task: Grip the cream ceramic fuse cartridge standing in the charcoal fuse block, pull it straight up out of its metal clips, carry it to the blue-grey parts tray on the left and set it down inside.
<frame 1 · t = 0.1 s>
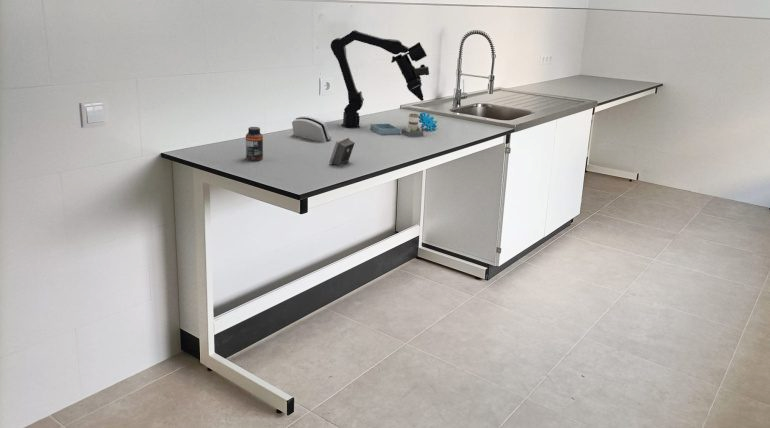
hand: (422, 98, 292), 15 cm above the table, tool tilted 30°, fingers open, 9 cm apart
fuse block: (412, 134, 290), on the table
tray: (384, 132, 292), on the table
gear: (427, 130, 304), on the table
white half-oval case: (310, 139, 271), on the table
supplement bottle: (254, 159, 235), on the table
fuse: (412, 130, 290), point 2 cm above the table, touching fuse block
electrical switch: (341, 163, 238), on the table
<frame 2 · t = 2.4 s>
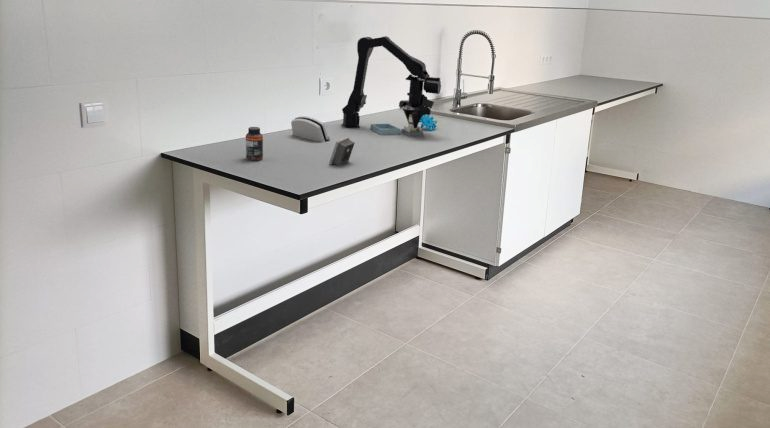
hand: (412, 127, 289), 4 cm above the table, tool pointing down, fingers closed on fuse, 4 cm apart
fuse: (412, 130, 290), point 2 cm above the table, touching fuse block, gripper
everything else where it was.
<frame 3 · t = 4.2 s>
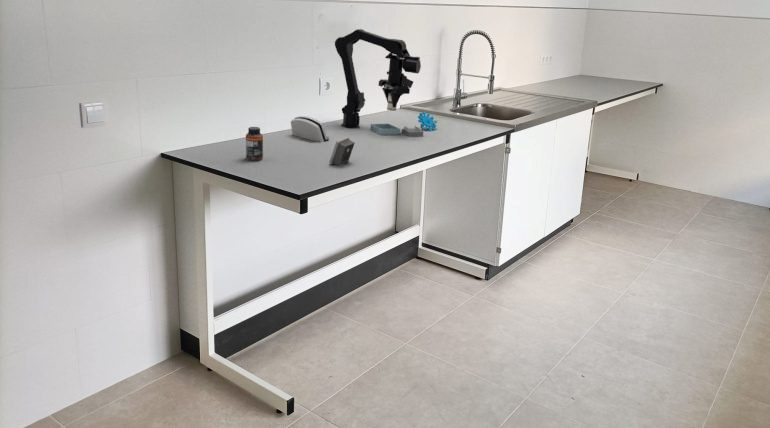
hand: (391, 106, 288), 12 cm above the table, tool pointing down, fingers closed on fuse, 4 cm apart
fuse: (391, 109, 288), point 10 cm above the table, touching gripper
everything else where it was.
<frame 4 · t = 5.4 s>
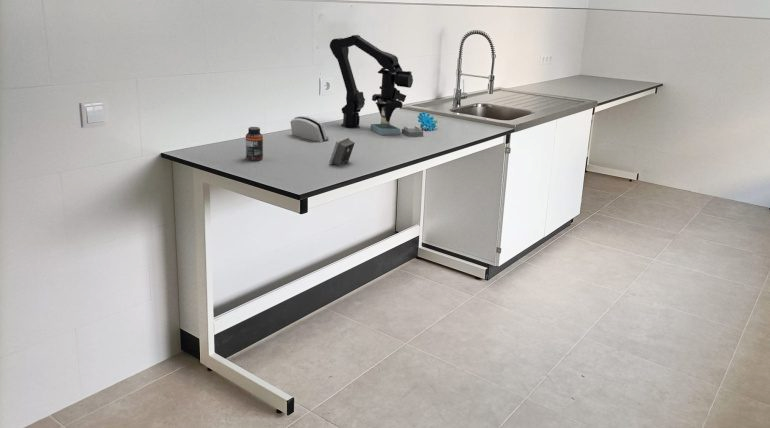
hand: (385, 120, 290), 5 cm above the table, tool pointing down, fingers closed on fuse, 4 cm apart
fuse: (385, 123, 291), point 4 cm above the table, touching gripper
everything else where it was.
when the fingers open (4 cm above the table, at t = 5.9 s): fuse drops 2 cm, resting on tray.
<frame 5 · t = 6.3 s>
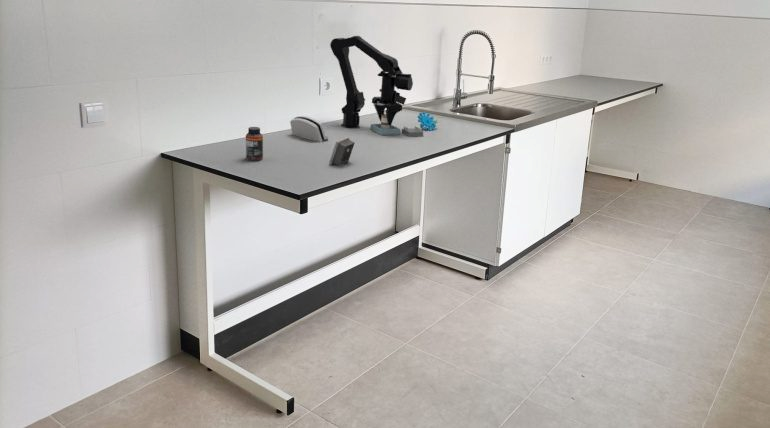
hand: (385, 123, 291), 4 cm above the table, tool pointing down, fingers open, 8 cm apart
fuse: (384, 130, 292), point 1 cm above the table, touching tray
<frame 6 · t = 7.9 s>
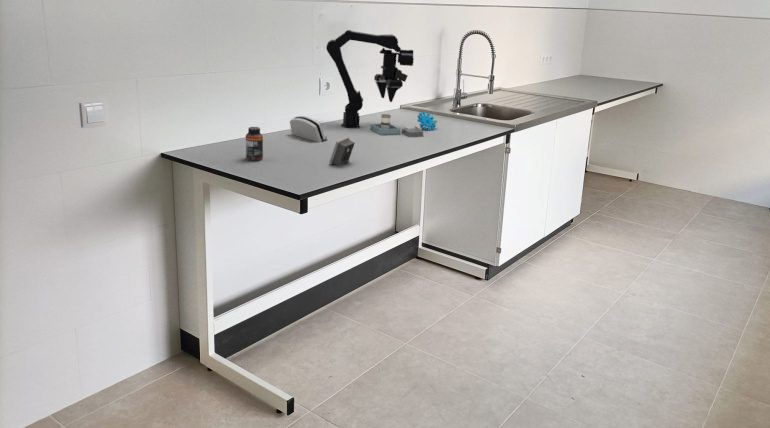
hand: (386, 99, 295), 13 cm above the table, tool pointing down, fingers open, 9 cm apart
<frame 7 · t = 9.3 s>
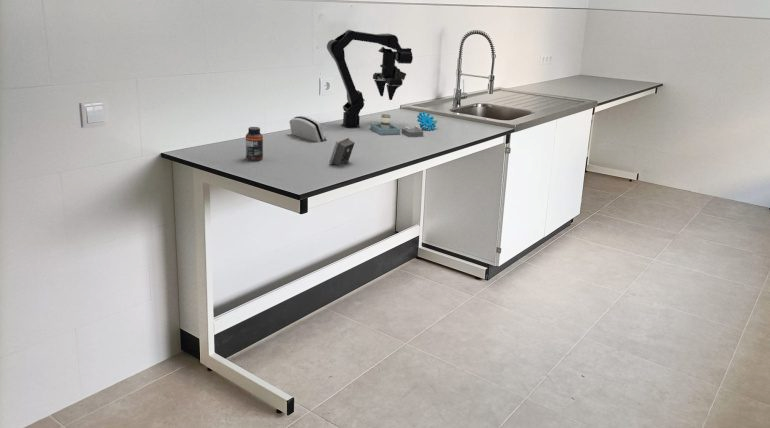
hand: (386, 98, 299), 13 cm above the table, tool pointing down, fingers open, 9 cm apart
at the end: fuse inside the target area on the tray (0.0 cm from its centre), point 0.5 cm above the tray's base; the gripper is holding nothing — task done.
